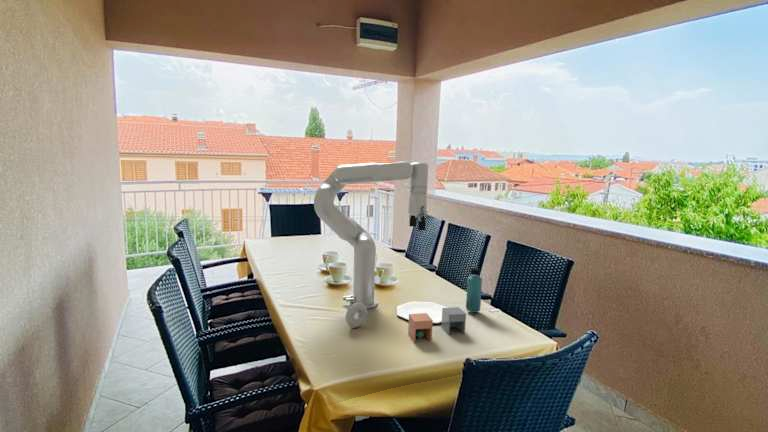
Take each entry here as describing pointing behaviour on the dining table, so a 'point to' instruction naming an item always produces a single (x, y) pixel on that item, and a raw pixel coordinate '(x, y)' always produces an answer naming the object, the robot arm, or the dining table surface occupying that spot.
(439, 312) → the plate
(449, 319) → the open-front grey box
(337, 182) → the robot arm
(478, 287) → the beverage bottle
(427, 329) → the pink open box
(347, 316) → the donut
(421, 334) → the marble
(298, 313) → the dining table surface
